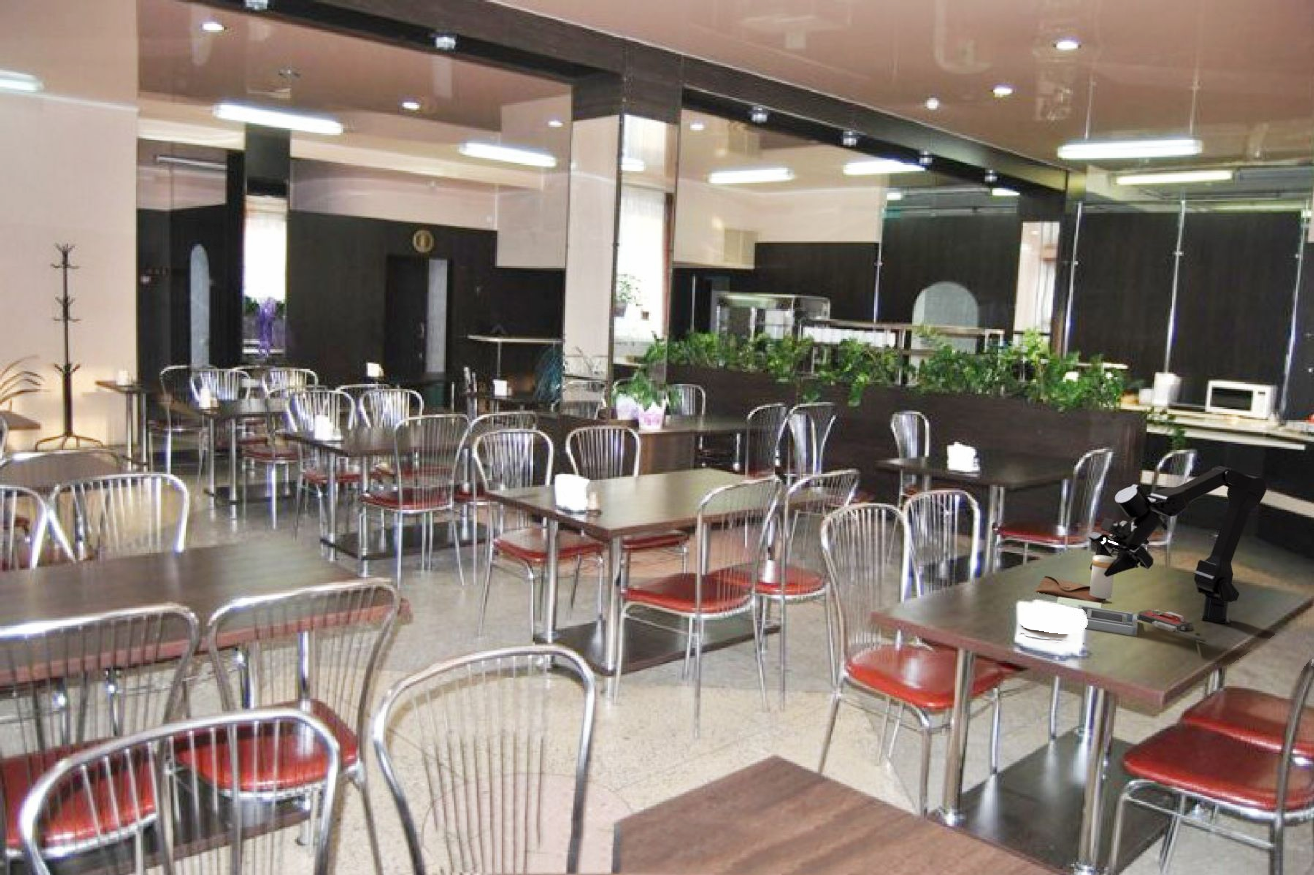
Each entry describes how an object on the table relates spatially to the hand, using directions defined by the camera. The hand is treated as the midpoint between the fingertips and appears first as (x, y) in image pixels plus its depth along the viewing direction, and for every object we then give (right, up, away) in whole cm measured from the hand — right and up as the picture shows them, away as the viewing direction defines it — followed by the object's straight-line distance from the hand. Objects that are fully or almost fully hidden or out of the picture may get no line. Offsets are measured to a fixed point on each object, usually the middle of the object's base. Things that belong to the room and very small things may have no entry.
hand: (1098, 572), depth 255 cm
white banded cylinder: (+1, -6, +1) cm, 6 cm away
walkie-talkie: (+18, -15, -2) cm, 24 cm away
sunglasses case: (+4, -11, +28) cm, 30 cm away
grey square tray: (+1, -14, -1) cm, 14 cm away
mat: (+1, -12, +15) cm, 19 cm away
